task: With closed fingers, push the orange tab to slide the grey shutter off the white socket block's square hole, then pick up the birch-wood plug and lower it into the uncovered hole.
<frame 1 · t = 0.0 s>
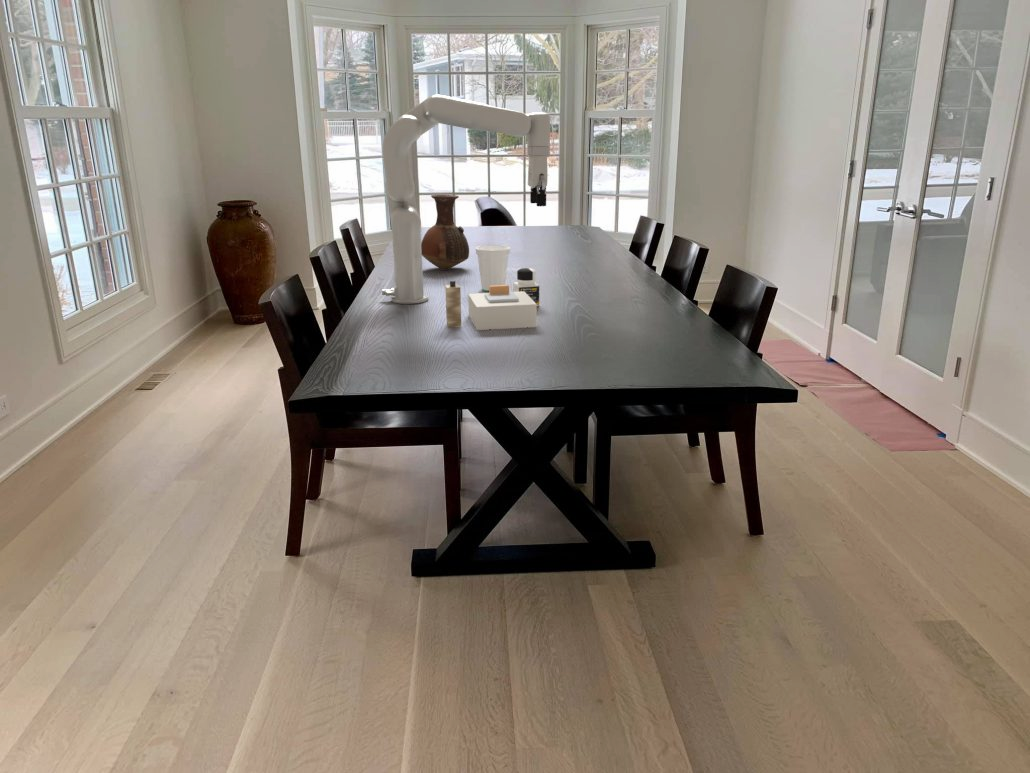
hand: (538, 204, 256), 31 cm above the table, tool pointing down, fingers open, 9 cm apart
plug: (454, 325, 227), on the table
vase: (445, 270, 311), on the table
cup: (493, 290, 274), on the table
medicine bottle: (526, 305, 253), on the table
socket: (501, 321, 232), on the table
shutter: (501, 293, 229), point 9 cm above the table, slide at 0.0 cm
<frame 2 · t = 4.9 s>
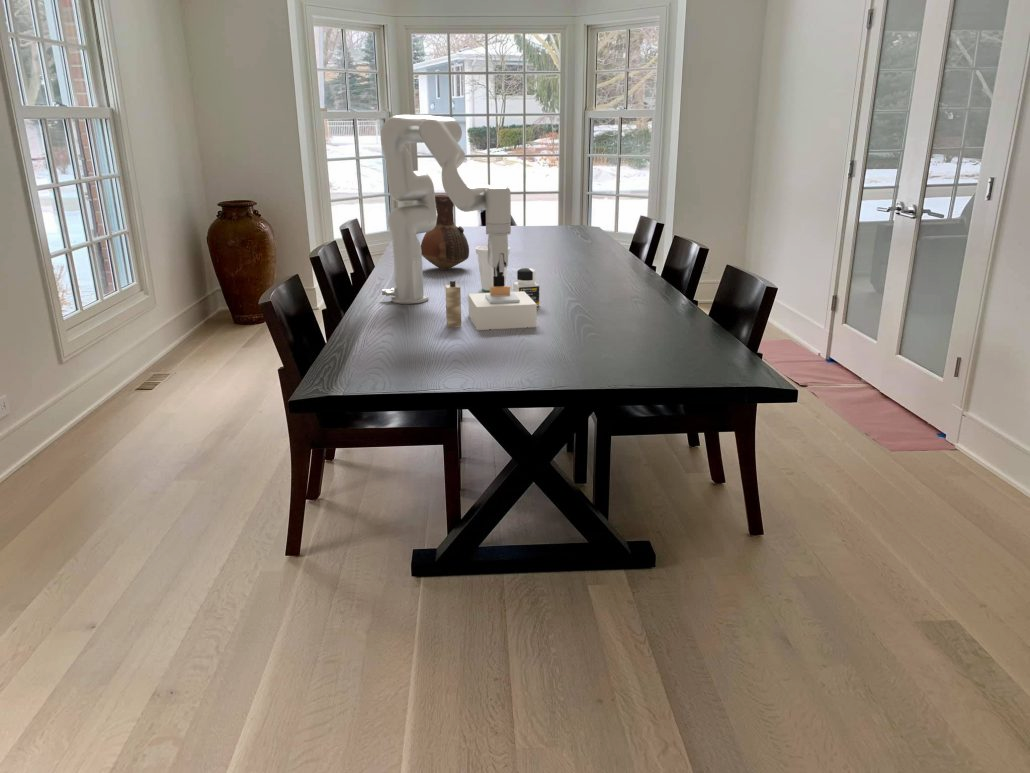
hand: (499, 288, 233), 9 cm above the table, tool pointing down, fingers closed
shutter: (502, 294, 228), point 9 cm above the table, slide at 1.5 cm, touching gripper
everything else where it was.
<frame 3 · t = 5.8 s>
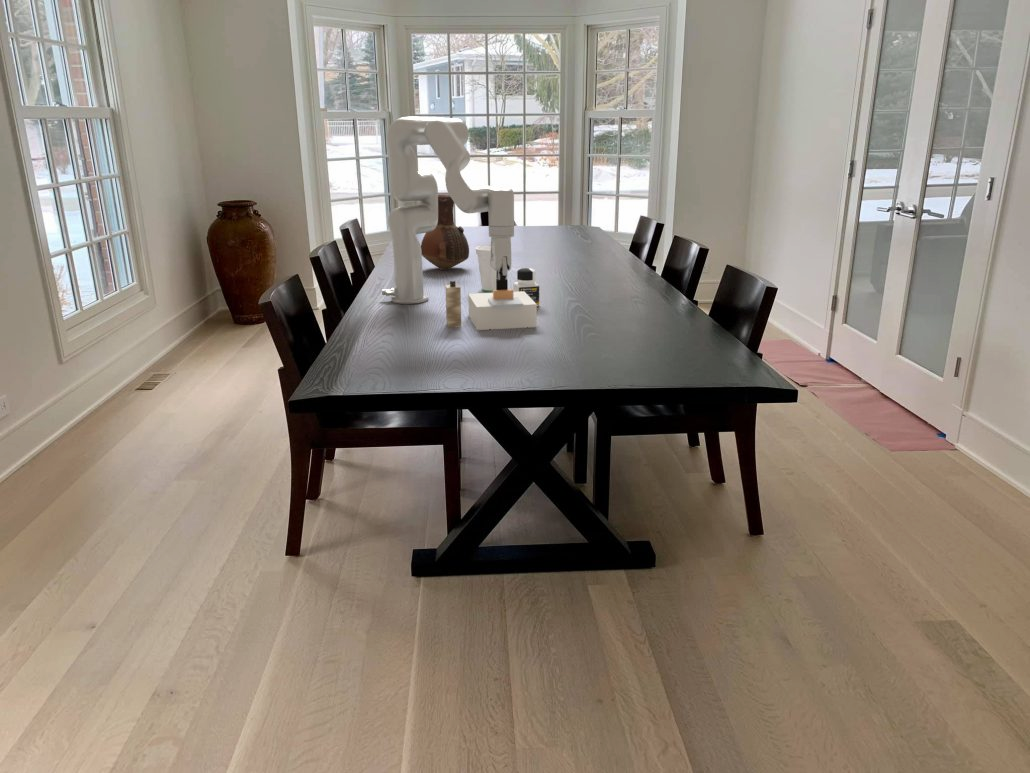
hand: (501, 292, 228), 9 cm above the table, tool pointing down, fingers closed
shutter: (505, 298, 223), point 9 cm above the table, slide at 6.7 cm, touching gripper
everything else where it was.
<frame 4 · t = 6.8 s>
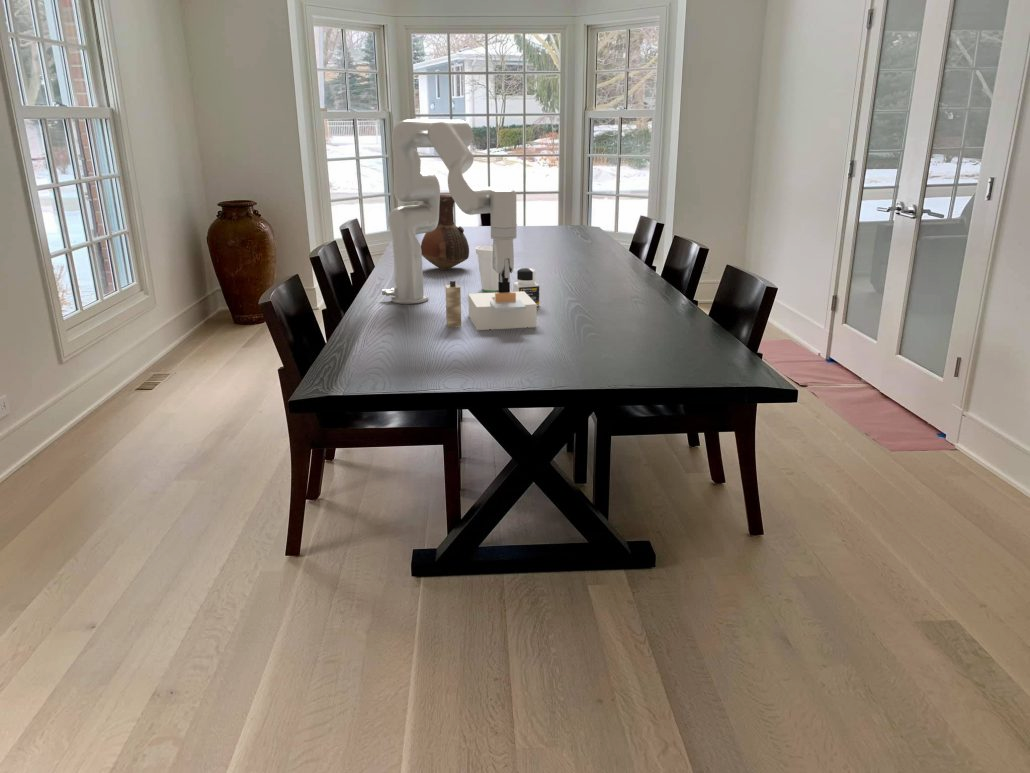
hand: (504, 294, 225), 9 cm above the table, tool pointing down, fingers closed
shutter: (507, 301, 219), point 9 cm above the table, slide at 10.4 cm, touching gripper
everything else where it was.
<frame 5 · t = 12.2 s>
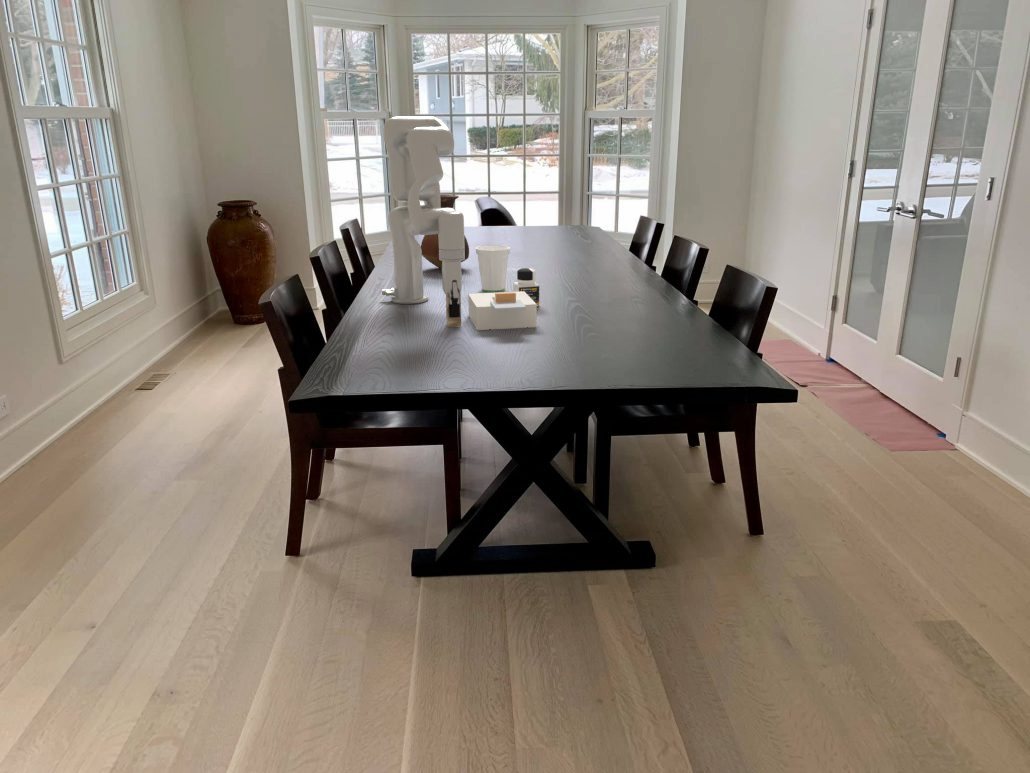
hand: (453, 314, 226), 3 cm above the table, tool pointing down, fingers closed on plug, 4 cm apart
plug: (454, 325, 227), on the table, touching gripper
shutter: (507, 301, 219), point 9 cm above the table, slide at 10.6 cm
everything else where it was.
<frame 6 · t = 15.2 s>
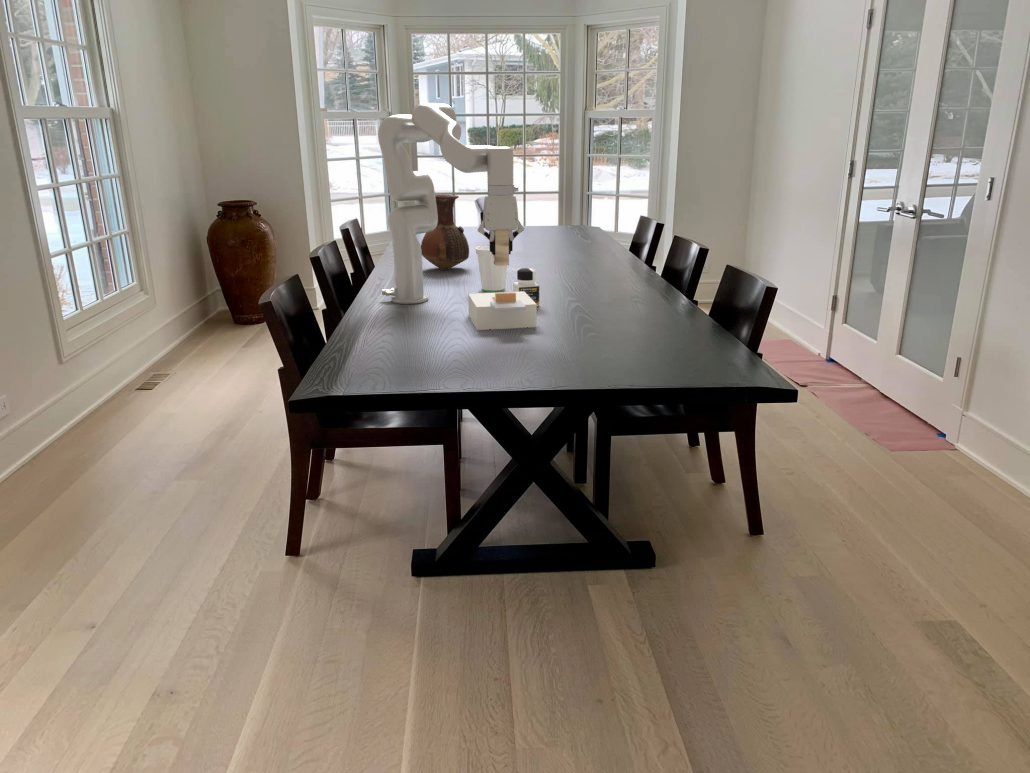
hand: (501, 253, 225), 21 cm above the table, tool pointing down, fingers closed on plug, 4 cm apart
plug: (501, 264, 226), point 18 cm above the table, touching gripper
everything else where it was.
when the fingers open (8 cm above the table, at t = 18.4 s): plug drops 1 cm, resting on socket.
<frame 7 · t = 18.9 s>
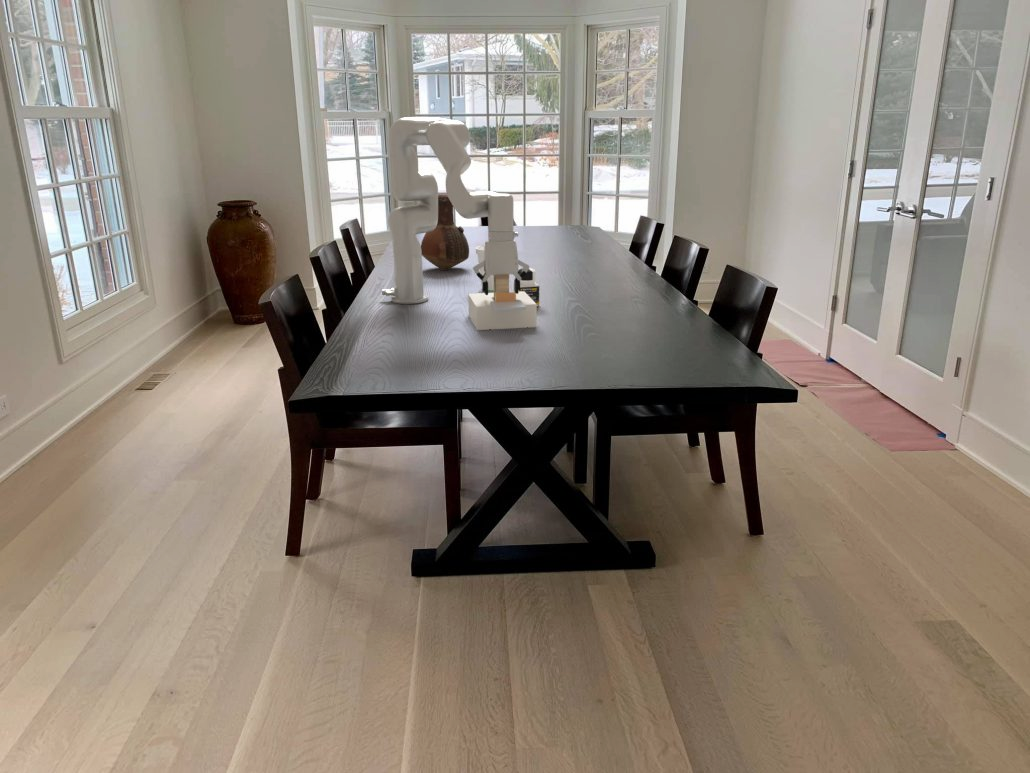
hand: (501, 293, 229), 9 cm above the table, tool pointing down, fingers open, 9 cm apart
plug: (501, 311, 231), point 3 cm above the table, touching socket
everything else where it was.
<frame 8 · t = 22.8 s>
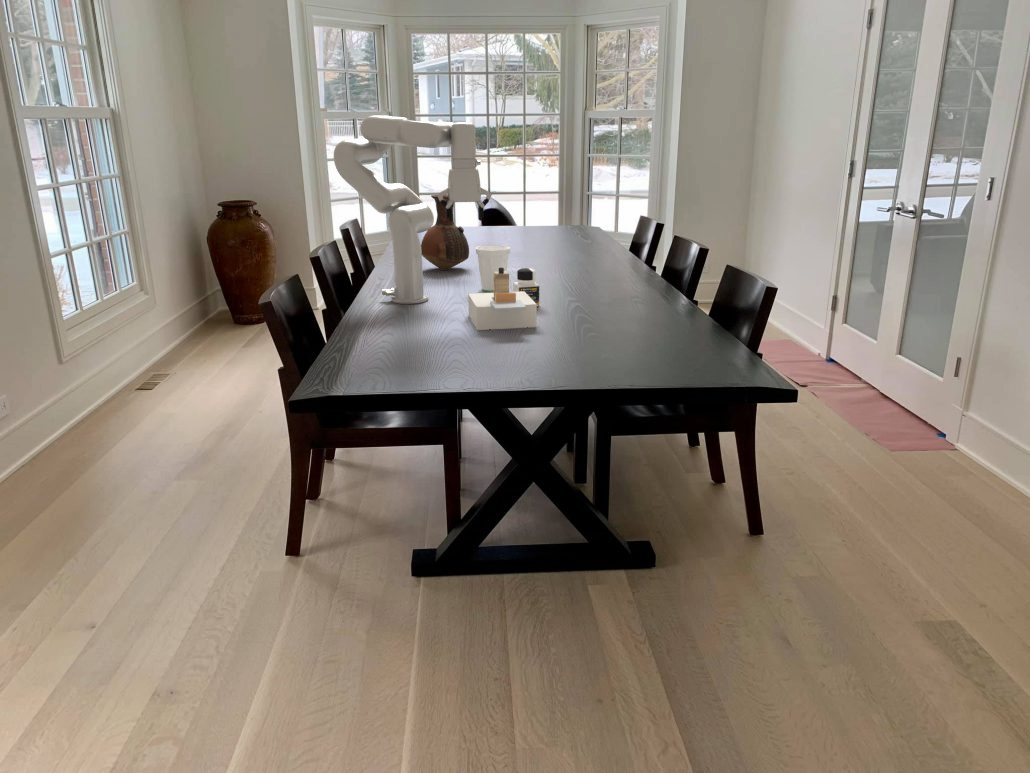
hand: (465, 220, 239), 28 cm above the table, tool pointing down, fingers open, 9 cm apart
nothing on the table moved.
at the end: plug 0.0 cm off-centre on the socket, point 3.0 cm above the socket's base; shutter slide at 10.6 cm; plug tilted 0° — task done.
